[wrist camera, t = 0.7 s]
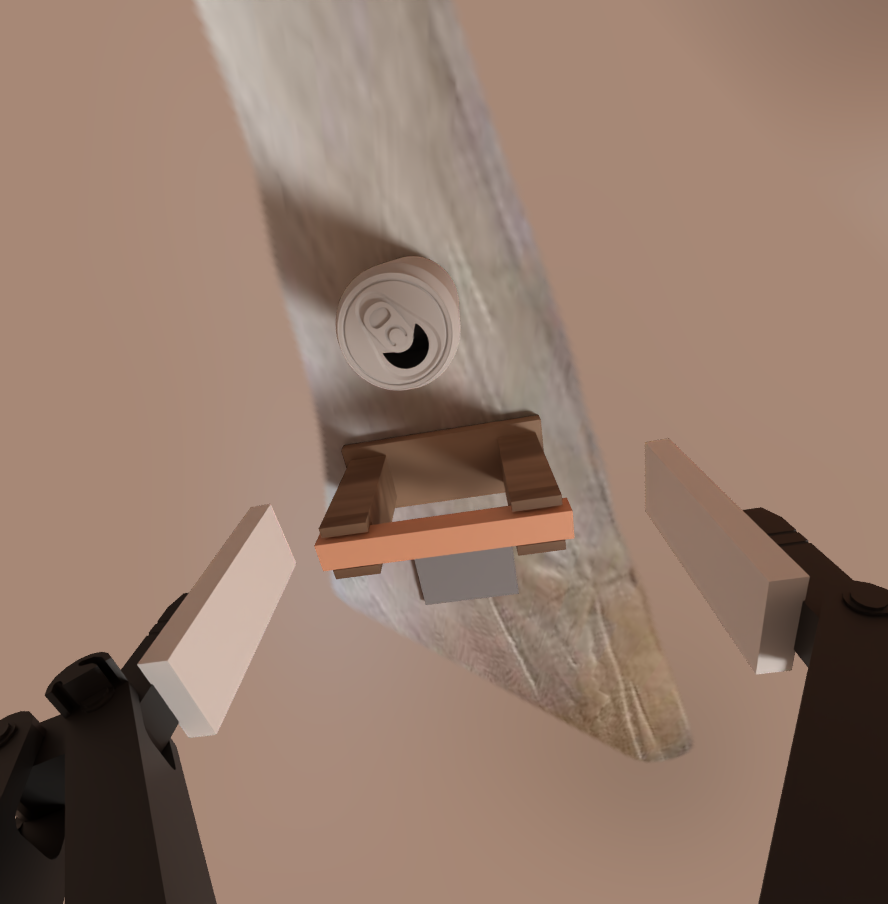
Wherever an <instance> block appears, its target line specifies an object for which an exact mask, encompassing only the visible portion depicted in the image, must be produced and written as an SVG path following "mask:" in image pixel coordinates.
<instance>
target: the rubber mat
mask: <svg viewBox="0 0 888 904" xmlns="http://www.w3.org/2000/svg"><path fill="white" fill-rule="evenodd" d="M414 560H415V564H416V568H417V572H418V576H419V580H420V584H421V588H422V592H423V596H424V600H425V604H426V605H430V604H438V603H446V602H454V601H462V600H471V599H479V598H487V597H495V596H504V595H512V594H519V591H518V584H517V577H516V570H515V563H514V556H513V549H512V546H511V547H503V548H496V549H488V550H481V551H473V552H465V553H458V554H450V555H443V556H435V557H427V558H420V559H414Z"/></svg>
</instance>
